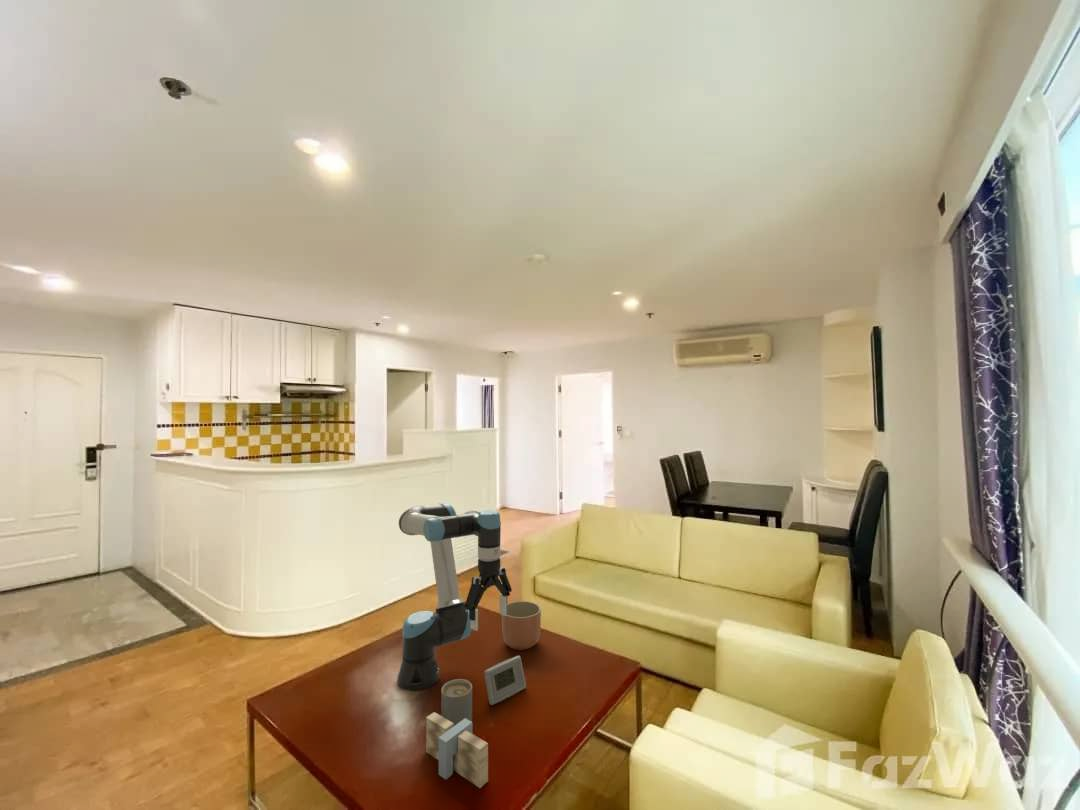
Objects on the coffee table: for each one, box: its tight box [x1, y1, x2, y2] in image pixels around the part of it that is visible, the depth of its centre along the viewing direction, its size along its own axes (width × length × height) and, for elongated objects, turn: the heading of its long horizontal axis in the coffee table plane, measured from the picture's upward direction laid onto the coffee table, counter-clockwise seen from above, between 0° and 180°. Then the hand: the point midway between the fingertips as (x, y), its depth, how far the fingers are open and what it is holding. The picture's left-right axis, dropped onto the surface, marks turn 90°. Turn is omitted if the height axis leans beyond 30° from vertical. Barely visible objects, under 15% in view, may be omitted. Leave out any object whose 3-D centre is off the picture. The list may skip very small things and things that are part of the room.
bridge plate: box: [438, 718, 473, 780], centre depth 127 cm, size 3×10×10 cm, turn 143°
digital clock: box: [483, 655, 527, 706], centre depth 160 cm, size 16×9×11 cm, turn 120°
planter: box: [501, 600, 542, 651], centre depth 195 cm, size 17×17×15 cm
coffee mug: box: [440, 678, 473, 726], centre depth 149 cm, size 13×10×10 cm
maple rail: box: [425, 711, 489, 789], centre depth 127 cm, size 22×3×10 cm, turn 53°
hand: (489, 621), depth 151 cm, fingers open, 13 cm apart
